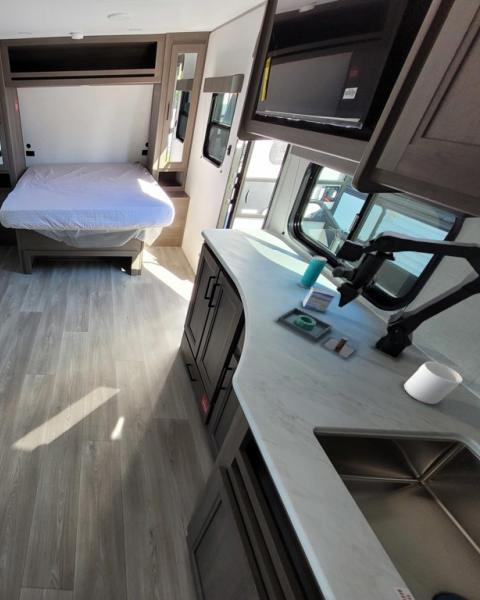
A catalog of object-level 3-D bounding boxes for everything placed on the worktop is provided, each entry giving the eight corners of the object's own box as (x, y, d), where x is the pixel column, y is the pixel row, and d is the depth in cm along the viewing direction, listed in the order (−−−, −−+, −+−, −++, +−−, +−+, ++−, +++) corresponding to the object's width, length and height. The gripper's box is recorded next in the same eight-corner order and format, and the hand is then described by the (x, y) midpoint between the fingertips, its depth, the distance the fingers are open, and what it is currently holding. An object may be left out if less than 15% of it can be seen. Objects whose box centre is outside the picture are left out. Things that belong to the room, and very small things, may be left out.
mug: (396, 372, 104) (417, 350, 98) (428, 382, 101) (451, 360, 95) (406, 397, 95) (429, 375, 89) (441, 409, 92) (468, 387, 86)
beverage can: (308, 283, 151) (323, 255, 143) (314, 289, 147) (330, 261, 138) (296, 282, 152) (310, 254, 143) (302, 288, 147) (317, 260, 138)
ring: (315, 327, 122) (319, 321, 120) (307, 332, 119) (311, 327, 117) (298, 318, 126) (302, 313, 124) (291, 323, 123) (294, 318, 121)
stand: (354, 351, 112) (361, 341, 109) (345, 359, 108) (353, 348, 105) (331, 339, 117) (338, 329, 114) (322, 346, 113) (329, 336, 110)
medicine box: (303, 307, 133) (312, 291, 128) (302, 302, 137) (311, 286, 132) (324, 313, 131) (334, 296, 126) (323, 308, 134) (333, 291, 129)
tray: (329, 330, 121) (332, 326, 119) (313, 342, 115) (317, 337, 113) (292, 312, 130) (295, 307, 129) (276, 322, 124) (279, 317, 123)
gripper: (353, 252, 117) (332, 286, 126) (331, 263, 108) (310, 299, 117) (389, 264, 109) (364, 300, 118) (369, 277, 100) (343, 315, 109)
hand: (345, 303), depth 116 cm, fingers open, 9 cm apart
